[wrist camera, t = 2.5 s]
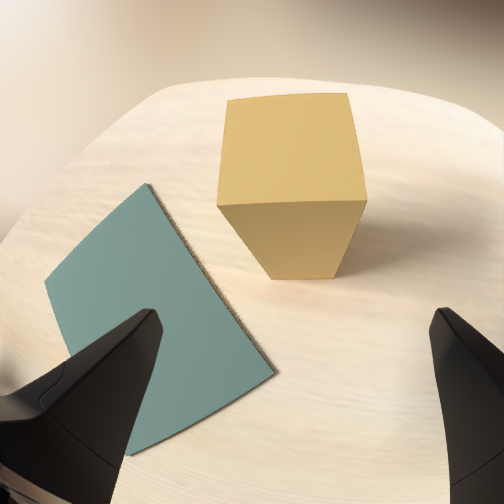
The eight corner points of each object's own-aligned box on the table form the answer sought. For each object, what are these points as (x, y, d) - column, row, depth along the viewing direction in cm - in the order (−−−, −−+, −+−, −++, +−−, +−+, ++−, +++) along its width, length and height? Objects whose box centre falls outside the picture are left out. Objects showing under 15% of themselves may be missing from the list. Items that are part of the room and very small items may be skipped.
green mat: (274, 372, 19) (274, 373, 19) (128, 455, 19) (126, 456, 19) (146, 184, 26) (145, 182, 25) (46, 281, 25) (44, 281, 25)
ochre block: (333, 278, 20) (367, 200, 8) (271, 279, 21) (216, 205, 9) (330, 219, 21) (347, 93, 9) (272, 221, 22) (227, 100, 10)
